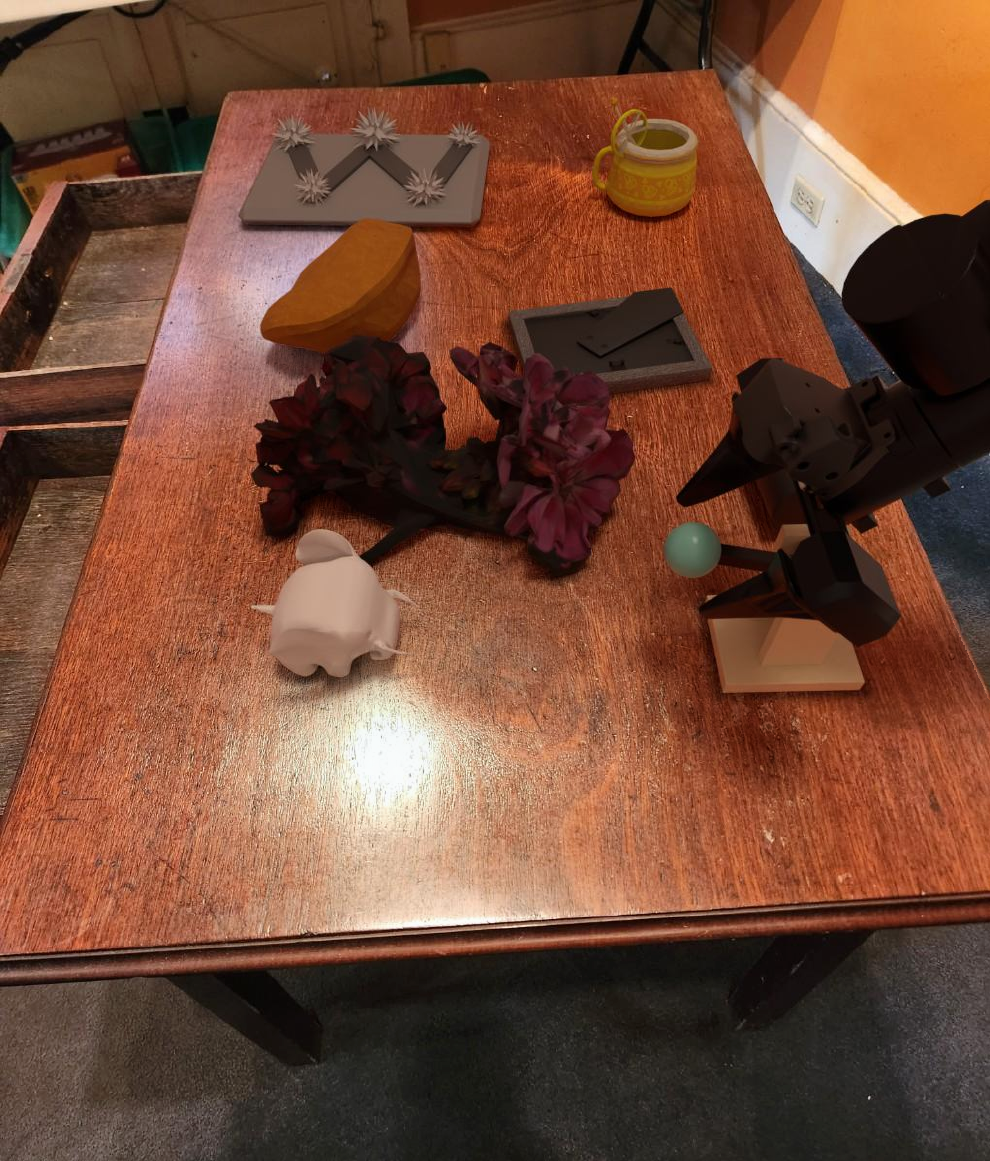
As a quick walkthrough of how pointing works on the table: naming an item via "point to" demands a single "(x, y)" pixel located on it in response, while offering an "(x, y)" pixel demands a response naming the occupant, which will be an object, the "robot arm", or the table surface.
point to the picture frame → (615, 340)
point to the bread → (350, 290)
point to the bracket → (783, 647)
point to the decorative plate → (369, 177)
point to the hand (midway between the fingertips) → (690, 555)
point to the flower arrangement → (447, 477)
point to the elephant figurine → (332, 609)
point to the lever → (708, 552)
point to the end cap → (781, 499)
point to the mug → (649, 165)
